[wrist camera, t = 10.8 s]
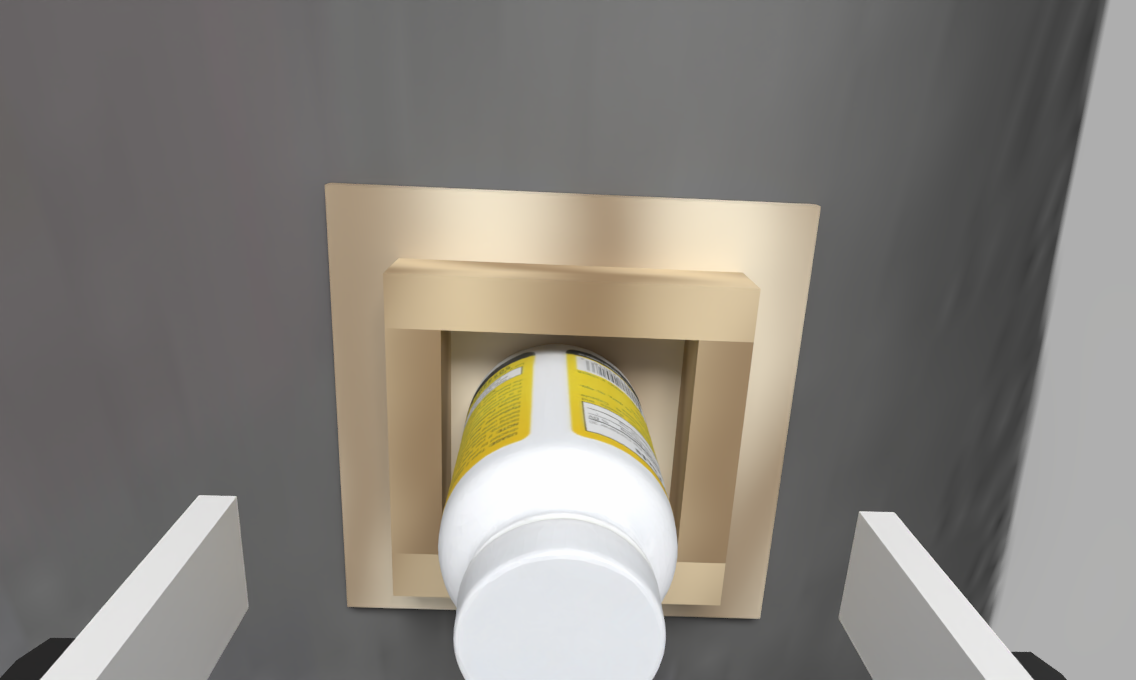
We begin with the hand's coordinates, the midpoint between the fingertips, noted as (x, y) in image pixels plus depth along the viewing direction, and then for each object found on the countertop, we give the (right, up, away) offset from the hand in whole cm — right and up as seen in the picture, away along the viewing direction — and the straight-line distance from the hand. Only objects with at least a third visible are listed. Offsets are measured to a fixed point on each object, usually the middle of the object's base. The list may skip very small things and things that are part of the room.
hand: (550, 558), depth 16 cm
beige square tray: (0, +2, +8) cm, 8 cm away
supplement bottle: (0, +2, +7) cm, 8 cm away
